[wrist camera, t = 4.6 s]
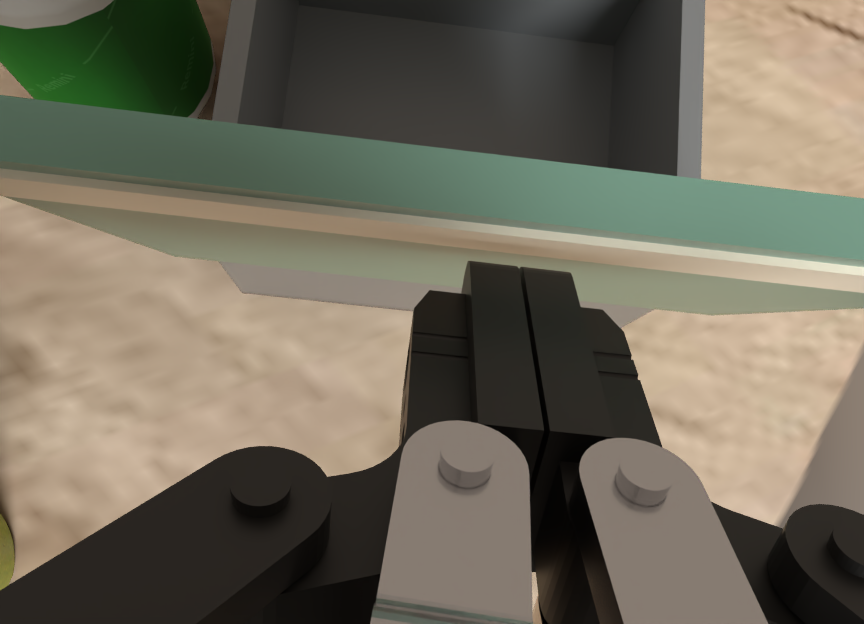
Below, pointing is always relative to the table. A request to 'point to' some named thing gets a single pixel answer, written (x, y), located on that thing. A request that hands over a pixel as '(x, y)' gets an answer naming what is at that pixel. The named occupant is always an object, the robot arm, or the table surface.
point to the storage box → (468, 93)
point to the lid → (430, 211)
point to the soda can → (110, 53)
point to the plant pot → (6, 554)
